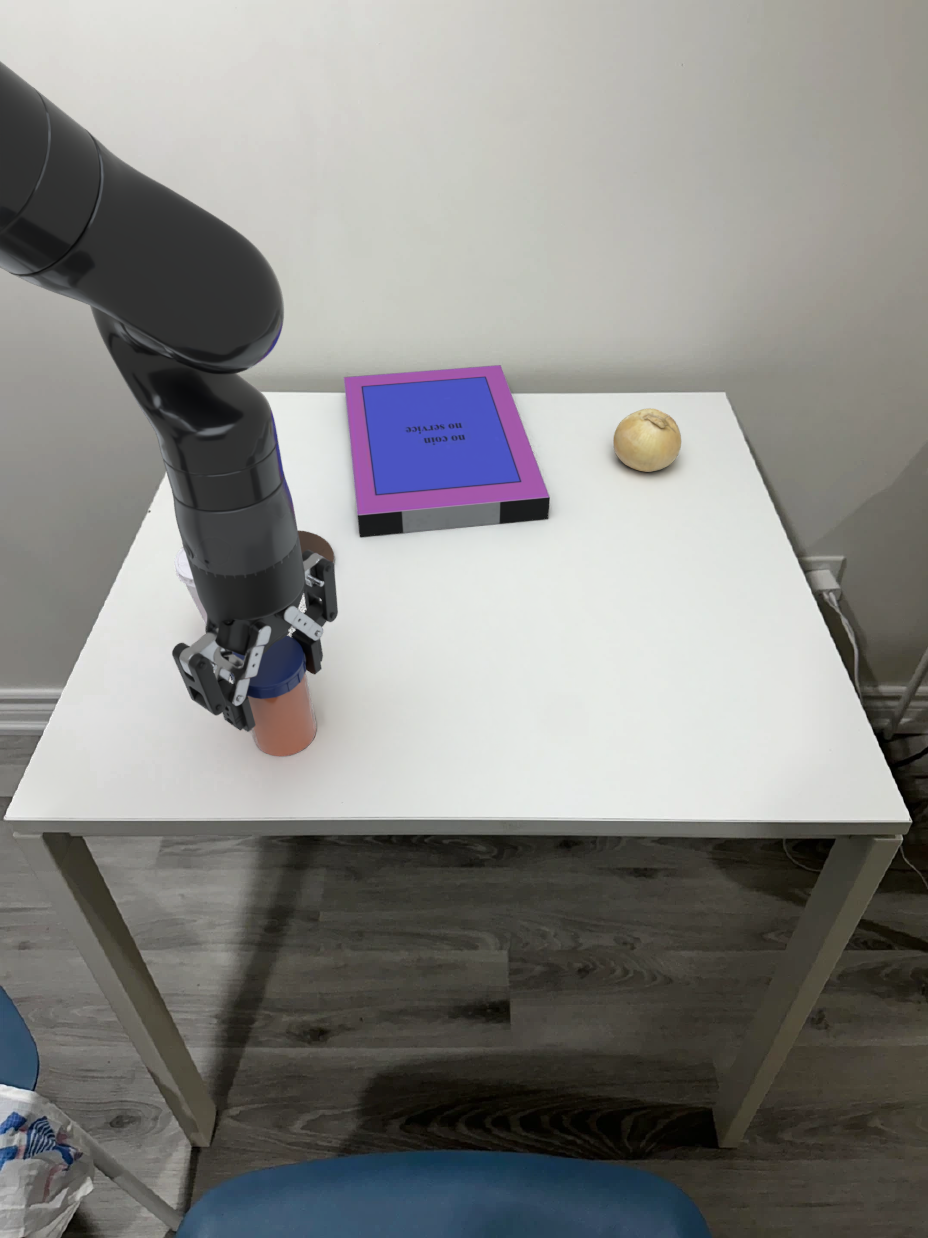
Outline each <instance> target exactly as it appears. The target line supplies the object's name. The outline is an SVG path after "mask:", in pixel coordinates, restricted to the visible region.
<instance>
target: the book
mask: <svg viewBox="0 0 928 1238" xmlns="http://www.w3.org/2000/svg"><path fill="white" fill-rule="evenodd" d="M343 384H344V394H345V395H344V396H345V403H346V404H345V405H346V414H347V415H346V416H347V426H348V434H349V435H348V436H349V446H350V453H351V455H350V457H351V466H352V475H353V484H354V485H353V486H354V496H355V505H356V516H357V524H358V531H359V532H358V533H359V538H366V537H367V538H368V537H378V536H387V535H388V536H389V535H400V534H408V533H419V532H429V531H430V532H431V531H439V530H450V529H451V530H452V529H461V528H471V527H480V526H482V527H483V526H491V525H492V526H493V525H502V524H512V523H522V522H533V521H543V520H544V521H545V520H548V519H549V512H550V499H551V496H550V494H549V491H548V488H547V485H546V483H545V480H544V478H543V475H542V472H541V470H540V466H539V465H538V460H537V459H536V457H535V453H534V450H533V448H532V445H531V443H530V440H529V437H528V435H527V431H526V429H525V427H524V423H523V421H522V418H521V416H520V413H519V411H518V407H517V406H516V402H515V400H514V399H515V398H514V397H513V394H512V391H511V389H510V387H509V386H510V385H509V383H508V380H507V378H506V374H505V372H504V370H503V368H502V365H501V364H496V365H495V364H494V365H482V366H481V365H480V366H469V367H468V366H467V367H457V368H456V367H454V368H443V369H429V370H419V371H418V370H417V371H405V372H391V373H379V374H367V375H352V376H343Z"/></svg>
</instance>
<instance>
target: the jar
mask: <svg viewBox="0 0 928 1238" xmlns="http://www.w3.org/2000/svg"><path fill="white" fill-rule="evenodd" d="M307 676H308V675H307V671H306V672H305V674H304V676H303V678H302V680H301V683H299V684H298V685H297V686H296V687H295V688H293V689H292V690H291V691H290V692H287V693H285V694H283V695H281V696H278V697H276V698H275V697H274V698H268V699H258V698H252V697H249V696H247V697H248V698H249V702H250V706H251V709H252V713H253V717H254V720H255V724H256V726H255V727H254V728H252V729H251V730H250V731H251V732H252V733H251V734H252V736H253V737H252V738H253V740H254V741H253V742H254V743H255V745H256V747H257V748H258V749H259V750H260V751H262V752H263V753H265V754H267V755H269V756H273V757H288V756H293V755H295V754H297V753H300V752H301V751H303V750H305V749H306V748H307V747H308V746H309V745H310V744H311V743H312V742H313V740H314V739H315V736H316V733H317V721H316V715H315V712H314V705H313V702H312V697H311V691H310V686H309V682H308V677H307Z"/></svg>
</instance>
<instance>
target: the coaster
mask: <svg viewBox="0 0 928 1238" xmlns="http://www.w3.org/2000/svg"><path fill="white" fill-rule="evenodd" d="M298 535H299V541H300V547H301V553H303V552H304V551H305V550H310V551H312V552H314V553H317V554H319V555H321V556H322V557H324V558H326V559H327V560H329V561H331V562H333V563H334V564H335V552H334V550H333V547H332V546H331V544H330V543H329V542H328V540H326V539H325V538H324V537H322V536H321V535H318V534H316V533H313V532H310V531H306V530H299V529H298Z"/></svg>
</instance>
